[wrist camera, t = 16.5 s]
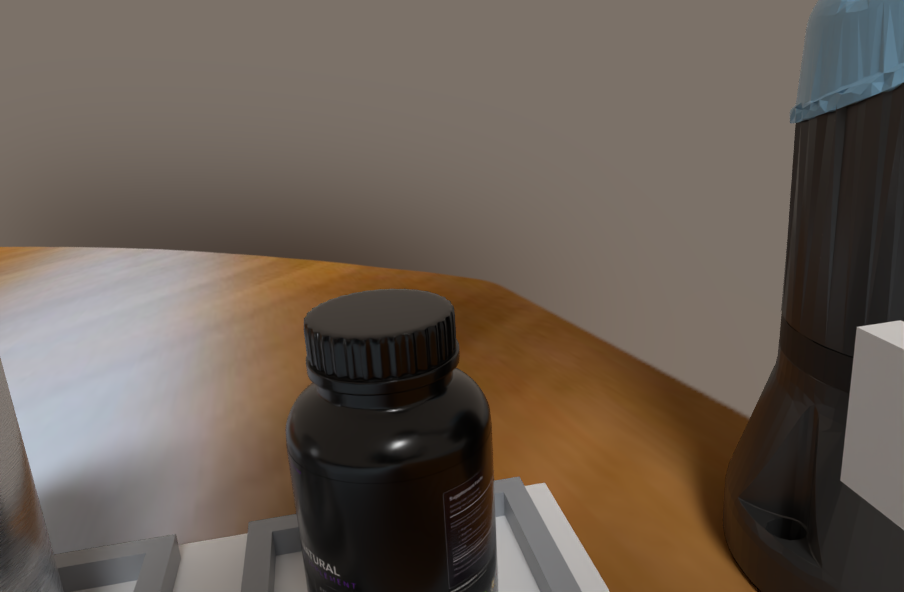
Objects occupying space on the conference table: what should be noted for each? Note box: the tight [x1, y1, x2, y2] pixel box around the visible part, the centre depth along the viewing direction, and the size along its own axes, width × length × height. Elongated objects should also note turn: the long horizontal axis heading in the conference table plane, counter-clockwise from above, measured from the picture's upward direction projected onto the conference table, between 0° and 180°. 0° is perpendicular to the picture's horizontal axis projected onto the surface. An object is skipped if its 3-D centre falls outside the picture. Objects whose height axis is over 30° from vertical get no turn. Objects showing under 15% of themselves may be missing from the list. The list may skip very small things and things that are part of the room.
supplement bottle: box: [286, 289, 498, 592], centre depth 25 cm, size 7×7×12 cm
